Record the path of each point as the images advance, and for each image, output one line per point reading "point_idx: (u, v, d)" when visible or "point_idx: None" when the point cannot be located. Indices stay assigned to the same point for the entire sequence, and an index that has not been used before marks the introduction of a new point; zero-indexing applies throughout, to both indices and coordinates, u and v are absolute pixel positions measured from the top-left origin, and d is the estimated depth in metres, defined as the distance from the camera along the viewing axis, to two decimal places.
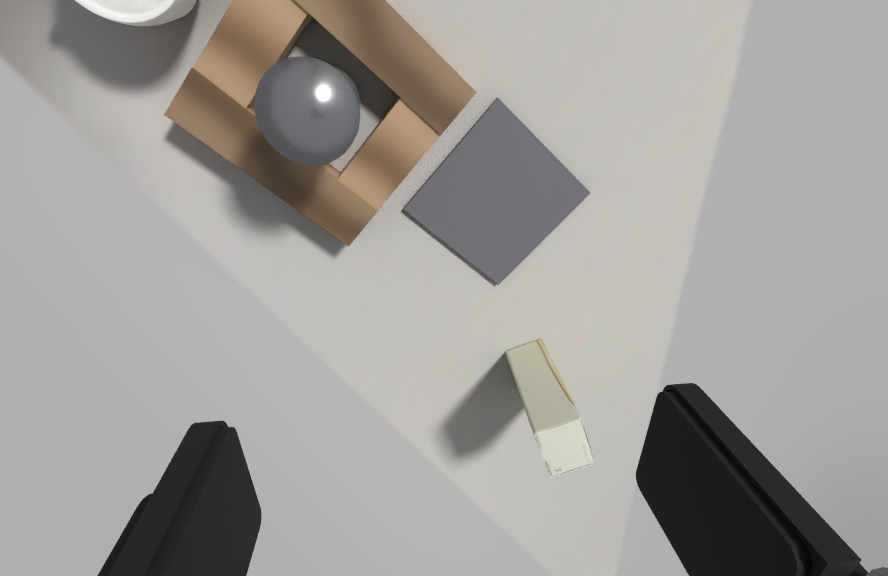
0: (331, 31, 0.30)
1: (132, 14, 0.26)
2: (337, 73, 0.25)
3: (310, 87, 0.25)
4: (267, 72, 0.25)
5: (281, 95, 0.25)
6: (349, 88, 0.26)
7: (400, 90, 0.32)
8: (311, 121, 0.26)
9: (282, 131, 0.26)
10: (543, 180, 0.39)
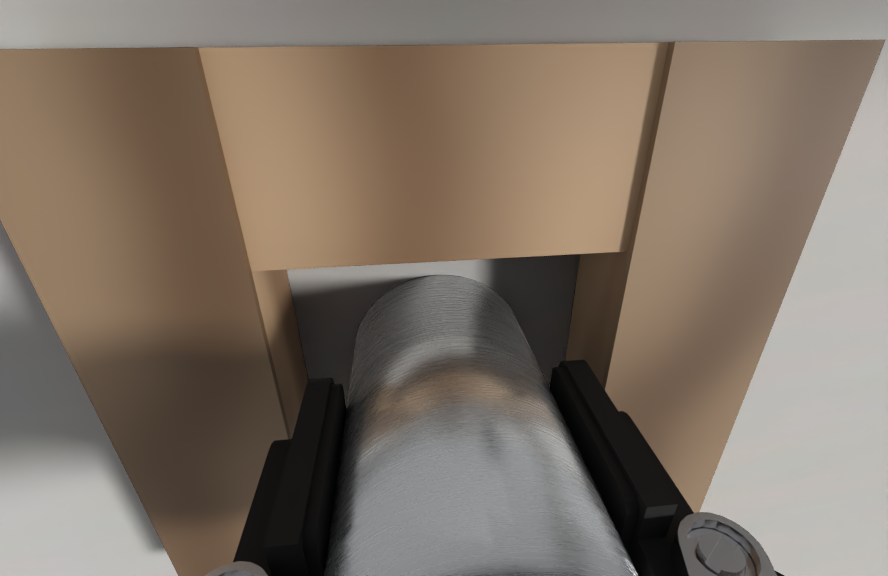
0: (622, 325, 0.10)
1: None
2: None
3: None
4: None
5: None
6: None
7: None
8: None
9: None
10: None
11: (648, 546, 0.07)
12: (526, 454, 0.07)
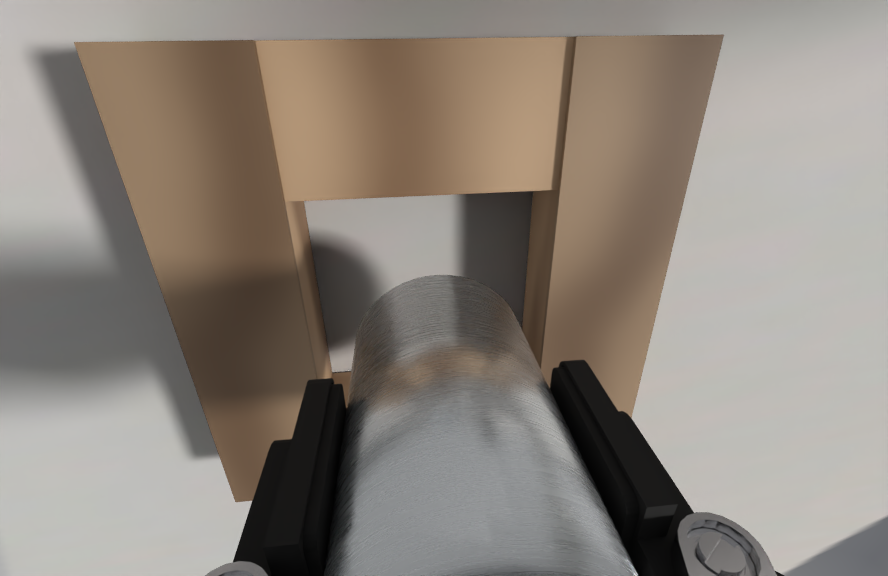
0: (557, 247, 0.14)
1: None
2: None
3: None
4: None
5: None
6: None
7: None
8: None
9: None
10: None
11: (648, 546, 0.07)
12: (526, 454, 0.07)
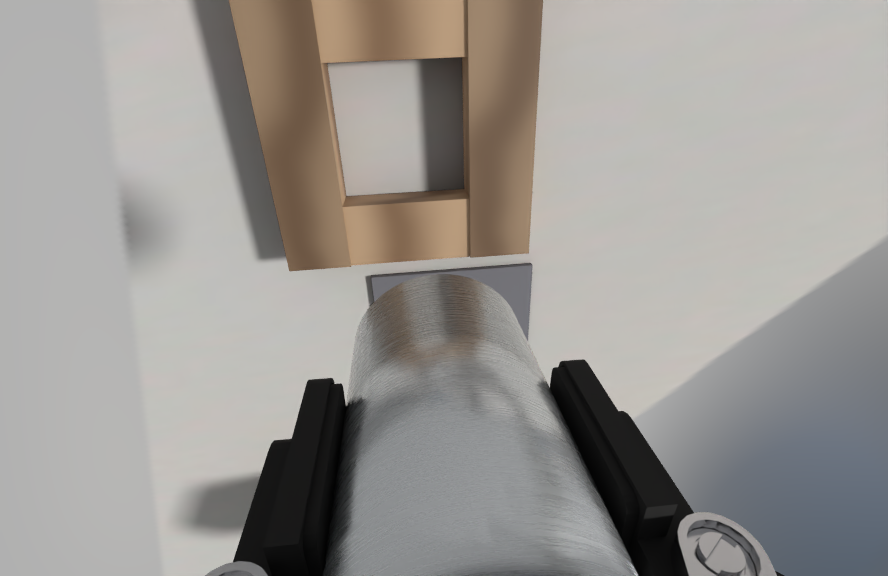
0: (470, 92, 0.25)
1: None
2: None
3: None
4: None
5: None
6: None
7: (475, 194, 0.28)
8: None
9: None
10: None
11: (648, 546, 0.07)
12: (525, 452, 0.07)
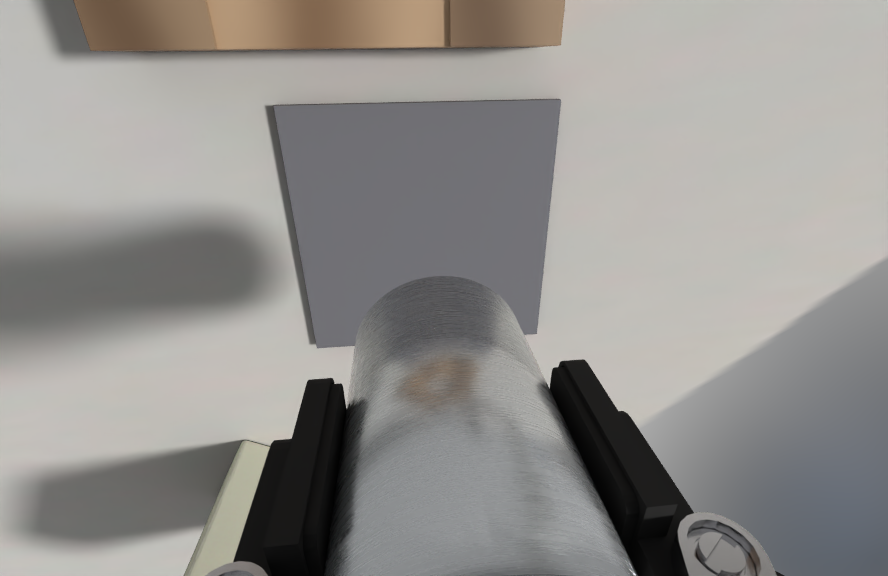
0: None
1: None
2: None
3: None
4: None
5: None
6: None
7: None
8: None
9: None
10: (504, 267, 0.22)
11: (648, 546, 0.07)
12: (526, 455, 0.07)
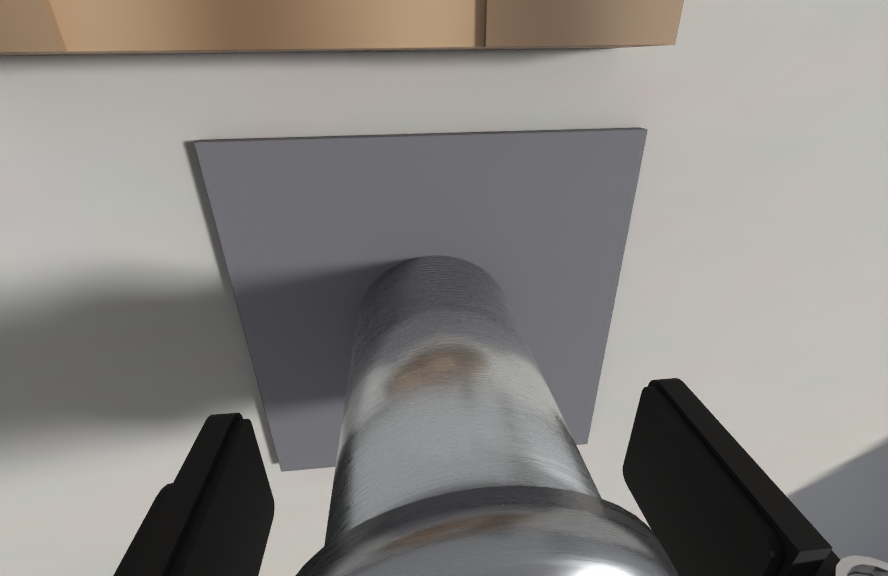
0: None
1: None
2: None
3: None
4: (538, 574, 0.05)
5: None
6: None
7: None
8: None
9: None
10: (547, 363, 0.16)
11: None
12: (505, 396, 0.08)
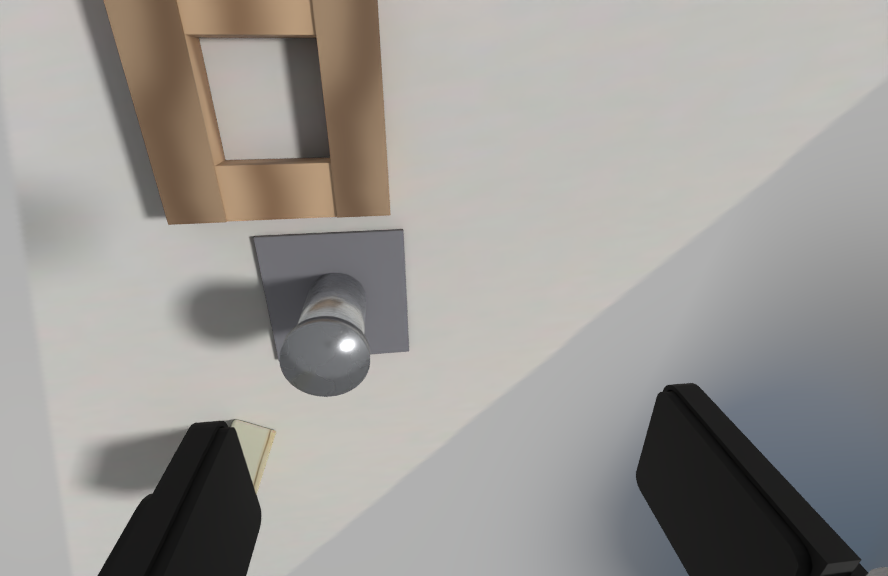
0: (321, 66, 0.29)
1: None
2: (368, 358, 0.30)
3: (343, 352, 0.30)
4: (325, 324, 0.29)
5: (319, 341, 0.29)
6: (367, 370, 0.31)
7: (335, 158, 0.31)
8: (323, 366, 0.30)
9: (297, 356, 0.29)
10: (384, 314, 0.40)
11: None
12: (337, 307, 0.32)
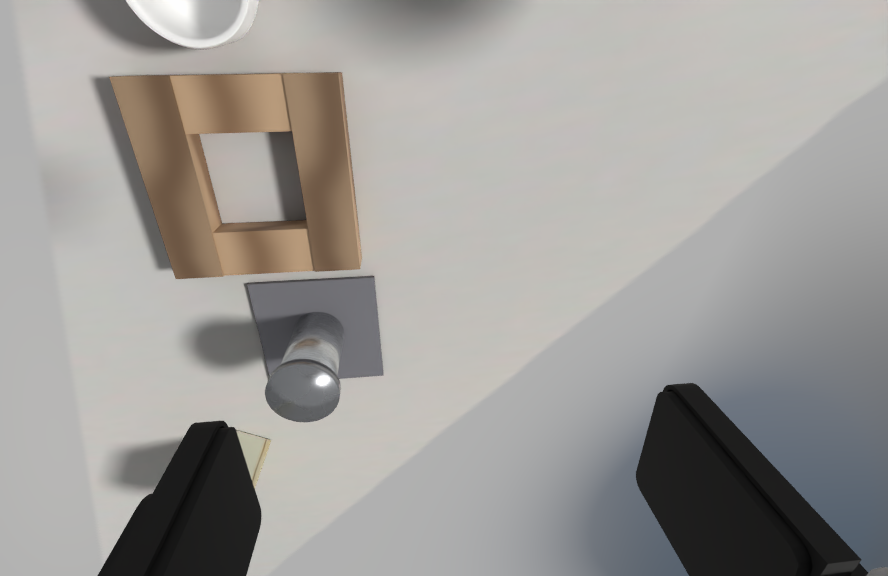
0: (297, 155, 0.35)
1: (152, 20, 0.28)
2: (338, 392, 0.37)
3: (317, 388, 0.36)
4: (301, 367, 0.35)
5: (297, 379, 0.36)
6: (337, 402, 0.37)
7: (311, 225, 0.38)
8: (301, 399, 0.37)
9: (279, 391, 0.36)
10: (360, 345, 0.46)
11: None
12: (314, 348, 0.39)
